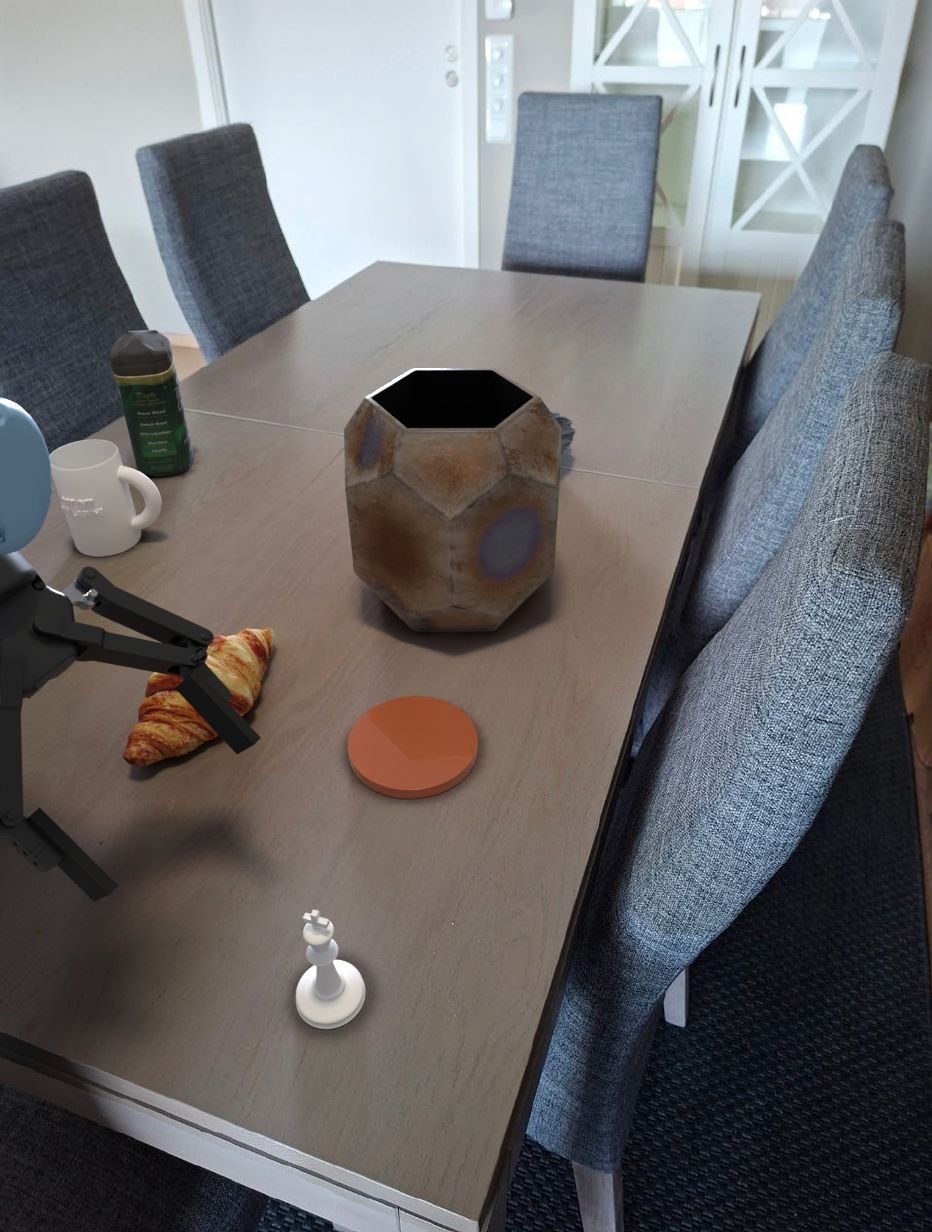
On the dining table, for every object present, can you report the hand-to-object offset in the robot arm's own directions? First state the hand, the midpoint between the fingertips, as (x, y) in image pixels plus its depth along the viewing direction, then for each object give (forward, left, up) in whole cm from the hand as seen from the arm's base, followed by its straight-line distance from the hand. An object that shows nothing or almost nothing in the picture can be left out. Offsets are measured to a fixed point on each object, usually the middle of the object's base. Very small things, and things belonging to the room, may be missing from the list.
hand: (184, 814), depth 57 cm
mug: (-24, +56, -14) cm, 63 cm away
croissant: (-6, +25, -14) cm, 30 cm away
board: (+24, +76, -14) cm, 81 cm away
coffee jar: (-24, +77, -14) cm, 82 cm away
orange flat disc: (+14, +19, -14) cm, 28 cm away
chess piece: (+9, -5, -14) cm, 17 cm away
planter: (+18, +44, -14) cm, 50 cm away
